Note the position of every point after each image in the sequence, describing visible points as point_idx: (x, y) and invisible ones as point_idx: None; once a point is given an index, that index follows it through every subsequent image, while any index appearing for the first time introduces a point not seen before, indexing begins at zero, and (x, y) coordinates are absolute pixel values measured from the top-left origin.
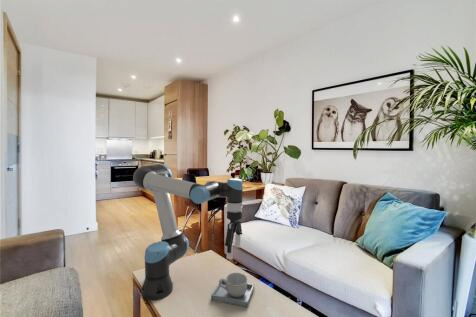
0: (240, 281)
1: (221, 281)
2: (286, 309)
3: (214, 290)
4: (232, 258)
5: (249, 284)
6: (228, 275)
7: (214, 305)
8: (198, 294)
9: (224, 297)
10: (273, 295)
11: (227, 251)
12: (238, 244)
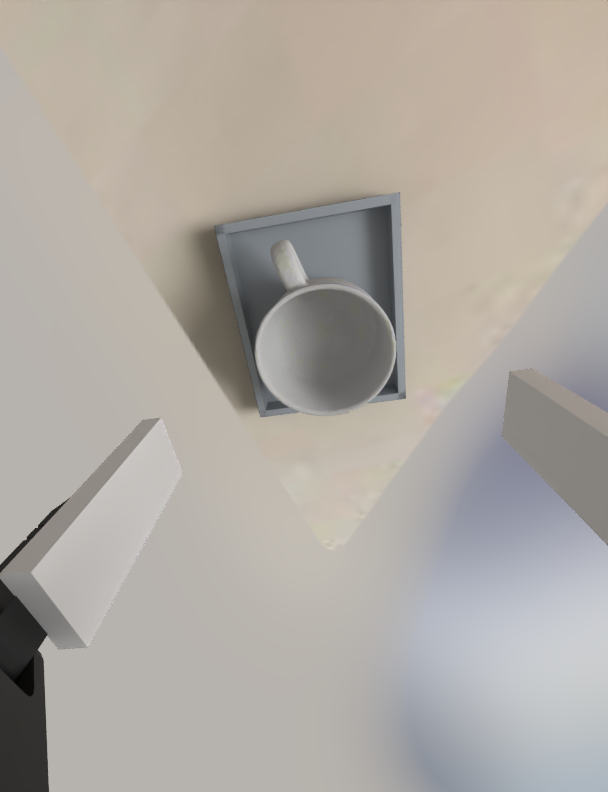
0: (380, 341)
1: (368, 208)
2: (320, 518)
3: (261, 218)
4: (176, 478)
5: (397, 377)
6: (338, 289)
7: (198, 267)
8: (224, 110)
9: (237, 307)
10: (382, 467)
11: (48, 518)
12: (530, 441)
